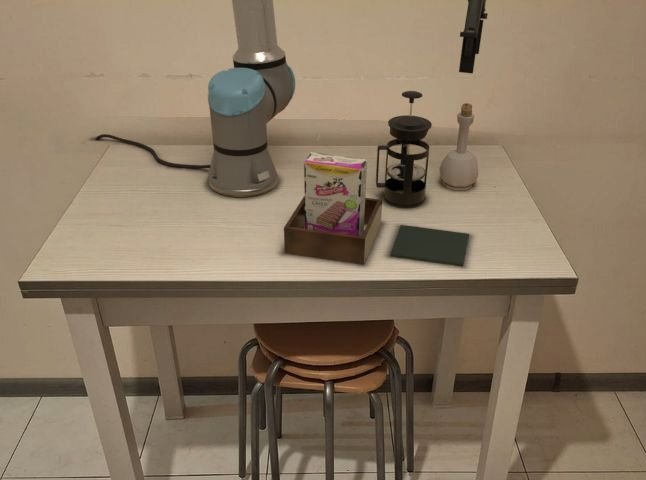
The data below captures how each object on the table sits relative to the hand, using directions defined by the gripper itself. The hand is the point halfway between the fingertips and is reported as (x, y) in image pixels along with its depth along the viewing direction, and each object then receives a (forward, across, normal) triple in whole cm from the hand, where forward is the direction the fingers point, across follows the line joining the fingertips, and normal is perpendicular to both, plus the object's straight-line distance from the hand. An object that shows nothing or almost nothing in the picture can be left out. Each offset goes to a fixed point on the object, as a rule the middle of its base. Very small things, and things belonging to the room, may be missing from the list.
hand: (469, 62), depth 141 cm
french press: (+28, -8, +10) cm, 31 cm away
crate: (+28, -29, +20) cm, 45 cm away
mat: (+28, -27, +1) cm, 39 cm away
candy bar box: (+28, -29, +20) cm, 45 cm away
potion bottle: (+28, +3, -1) cm, 28 cm away
